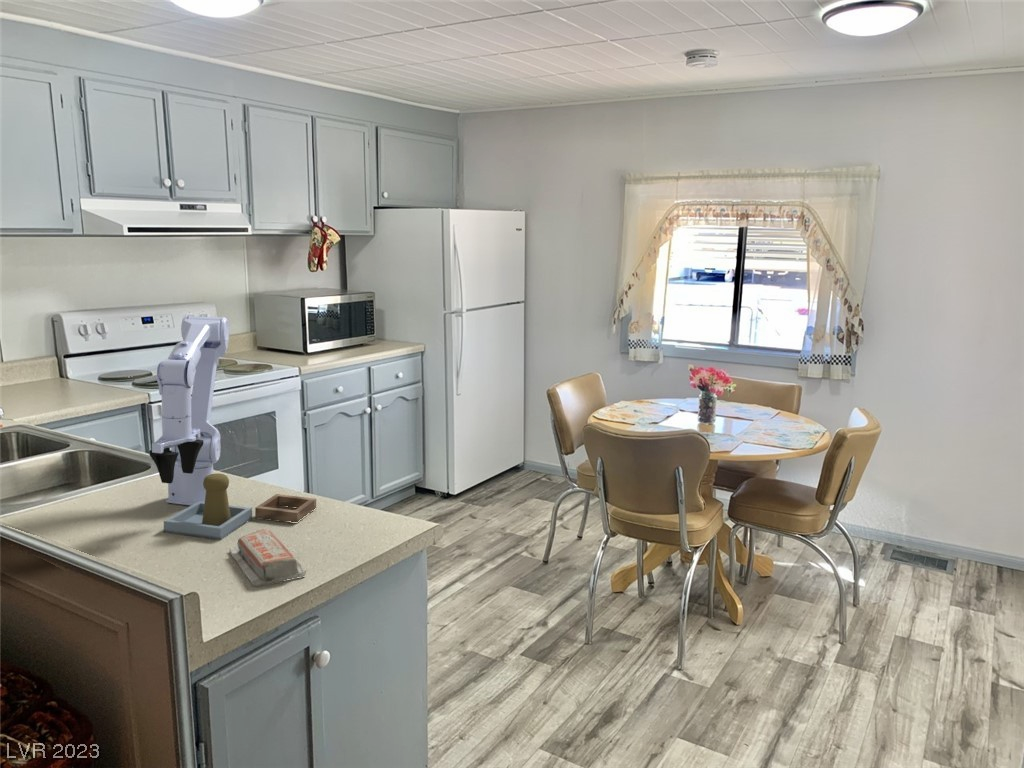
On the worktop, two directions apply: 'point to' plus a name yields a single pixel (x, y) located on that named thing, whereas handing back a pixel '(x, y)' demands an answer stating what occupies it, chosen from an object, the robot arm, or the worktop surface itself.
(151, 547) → the worktop surface
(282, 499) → the frame
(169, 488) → the robot arm
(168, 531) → the parts tray
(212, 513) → the cork
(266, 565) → the packaged product
